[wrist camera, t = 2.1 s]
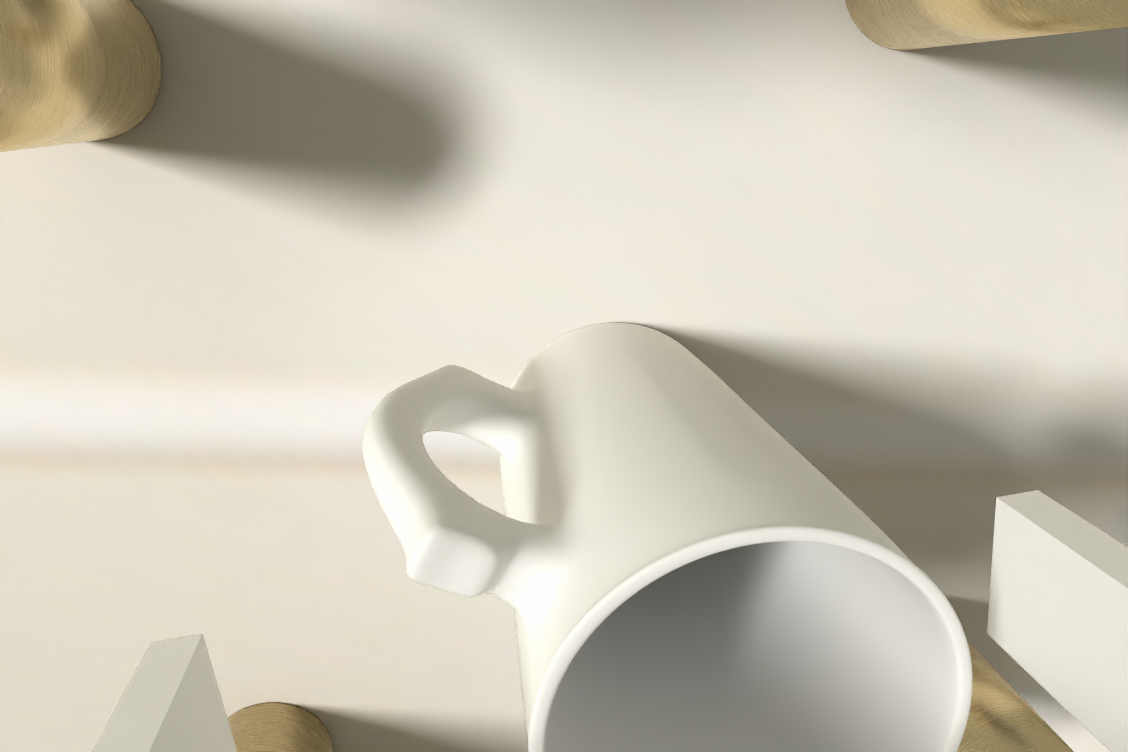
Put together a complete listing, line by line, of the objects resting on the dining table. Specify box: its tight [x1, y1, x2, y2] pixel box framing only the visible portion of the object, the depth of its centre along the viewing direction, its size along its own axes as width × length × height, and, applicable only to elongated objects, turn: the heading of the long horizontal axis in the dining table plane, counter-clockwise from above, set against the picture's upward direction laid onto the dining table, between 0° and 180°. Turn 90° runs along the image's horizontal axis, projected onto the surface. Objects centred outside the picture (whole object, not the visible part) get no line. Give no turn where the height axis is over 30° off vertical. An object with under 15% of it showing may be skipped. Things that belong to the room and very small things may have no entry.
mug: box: [363, 323, 972, 752], centre depth 17 cm, size 10×7×12 cm, turn 60°
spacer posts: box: [0, 0, 1128, 752], centre depth 19 cm, size 24×24×8 cm
